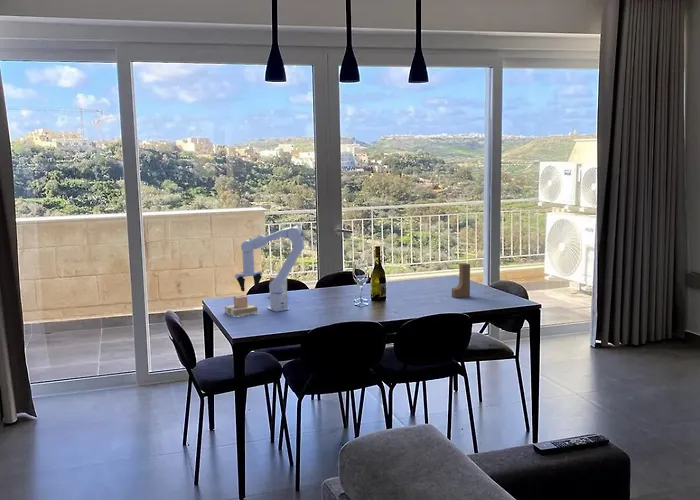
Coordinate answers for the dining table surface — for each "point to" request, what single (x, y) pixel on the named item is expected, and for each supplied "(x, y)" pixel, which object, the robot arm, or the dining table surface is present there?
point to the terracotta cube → (240, 301)
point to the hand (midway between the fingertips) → (249, 290)
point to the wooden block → (463, 282)
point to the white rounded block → (283, 286)
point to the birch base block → (240, 310)
